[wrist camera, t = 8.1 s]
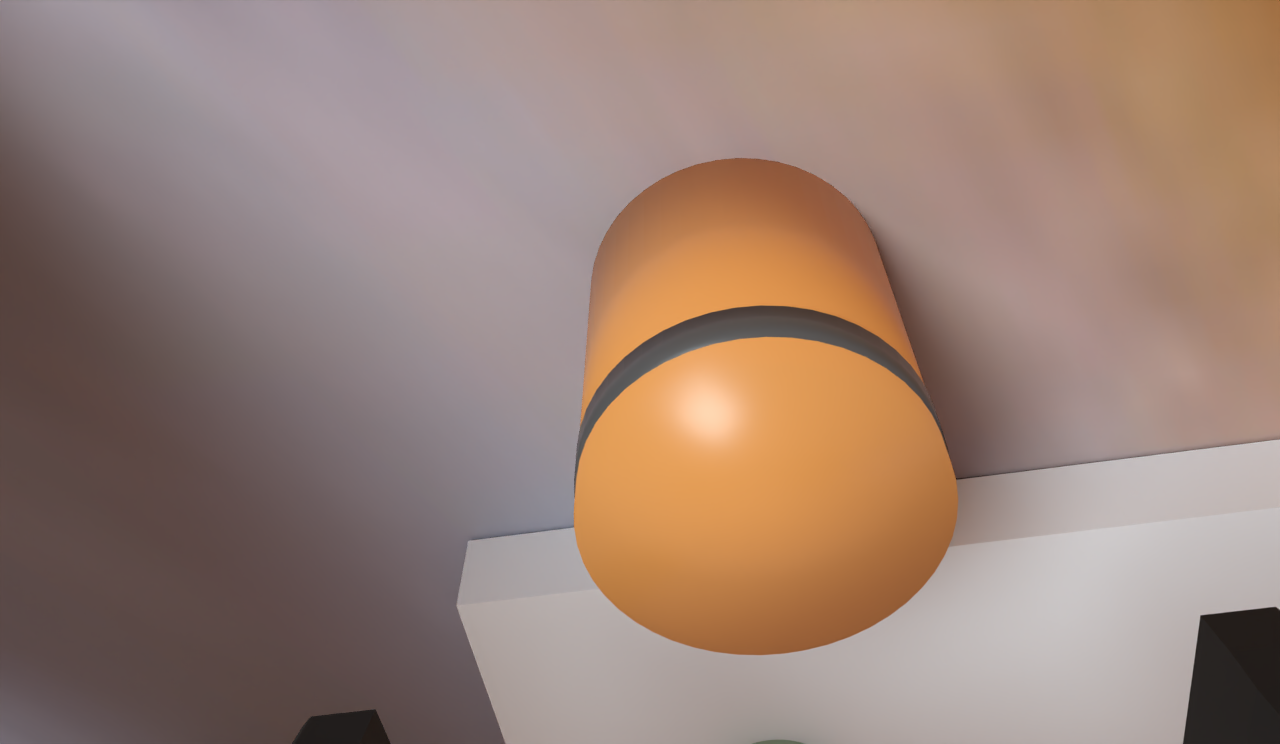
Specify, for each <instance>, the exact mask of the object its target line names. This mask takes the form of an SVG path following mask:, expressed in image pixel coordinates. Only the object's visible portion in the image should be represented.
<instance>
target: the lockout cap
mask: <svg viewBox="0 0 1280 744" xmlns="http://www.w3.org/2000/svg"><path fill="white" fill-rule="evenodd" d="M574 498H575V502H574V530H575V536H576V541H577V546H578V549H579V552H580V555H581V558H582V561H583V563H584V565H585V567H586V569H587V571H588V572H589V574H590V576H591V578H592V580H593V581H594V582H595V584H596V585H597V586H598V588H599V589H600V590H601V592H602V593H603V594H604V595H605V596H606V597H607V598H608V599H609V600H610V601H611V602H612V603H613V604H614V605H615V606H616V607H617V608H618V609H619V610H620V611H621V612H623V613H624V614H625V615H627V616H628V617H629V618H631V619H632V620H633V621H635V622H636V623H638V624H640V625H642V626H643V627H645V628H647V629H648V630H650V631H652V632H654V633H656V634H658V635H661V636H663V637H665V638H667V639H670V640H672V641H675V642H678V643H681V644H684V645H687V646H691V647H694V648H699V649H703V650H708V651H713V652H719V653H727V654H736V655H772V654H785V653H791V652H798V651H804V650H809V649H813V648H817V647H821V646H825V645H828V644H831V643H834V642H837V641H840V640H843V639H845V638H848V637H851V636H853V635H855V634H857V633H859V632H861V631H864V630H866V629H868V628H870V627H872V626H873V625H875V624H877V623H878V622H880V621H882V620H883V619H885V618H887V617H888V616H890V615H891V614H893V613H894V612H895V611H896V610H898V609H899V608H900V607H902V606H903V605H904V604H906V603H907V602H908V601H909V600H910V599H911V598H912V597H913V596H914V595H915V594H916V593H917V592H918V591H919V590H920V589H921V588H922V587H923V586H924V585H925V584H926V582H927V581H928V580H929V579H930V577H931V576H932V575H933V574H934V572H935V571H936V569H937V568H938V566H939V564H940V563H941V561H942V559H943V558H944V556H945V554H946V551H947V549H948V547H949V544H950V542H951V539H952V537H953V533H954V529H955V525H956V520H957V511H958V492H957V483H956V477H955V474H954V471H953V467H952V464H951V461H950V458H949V454H948V448H947V445H946V442H945V438H944V435H943V431H942V429H941V426H940V423H939V420H938V417H937V414H936V411H935V408H934V405H933V403H932V400H931V398H930V396H929V394H928V392H927V390H926V387H925V385H924V382H923V379H922V376H921V373H920V370H919V367H918V365H917V362H916V359H915V356H914V353H913V350H912V347H911V344H910V341H909V338H908V335H907V333H906V330H905V327H904V324H903V321H902V318H901V315H900V312H899V309H898V306H897V303H896V301H895V298H894V295H893V292H892V289H891V286H890V283H889V280H888V277H887V274H886V271H885V269H884V266H883V263H882V260H881V257H880V254H879V251H878V248H877V245H876V242H875V240H874V237H873V235H872V233H871V231H870V229H869V227H868V225H867V223H866V222H865V220H864V219H863V217H862V216H861V214H860V213H859V211H858V210H857V209H856V208H855V207H854V206H853V204H852V203H851V202H850V201H849V200H848V199H847V198H846V197H845V196H844V195H843V194H841V193H840V192H839V191H838V190H837V189H835V188H834V187H833V186H832V185H830V184H829V183H827V182H825V181H824V180H822V179H820V178H819V177H817V176H815V175H813V174H811V173H809V172H806V171H804V170H802V169H799V168H797V167H794V166H790V165H787V164H783V163H780V162H775V161H768V160H762V159H746V158H735V159H724V160H715V161H711V162H706V163H701V164H697V165H694V166H691V167H688V168H685V169H683V170H680V171H677V172H675V173H673V174H671V175H669V176H667V177H665V178H663V179H661V180H659V181H658V182H656V183H655V184H653V185H652V186H650V187H649V188H647V189H645V190H644V191H643V192H642V193H640V194H639V195H638V196H637V197H636V198H635V199H633V200H632V201H631V202H630V203H629V204H628V205H627V206H626V207H625V208H624V210H623V211H622V212H621V213H620V214H619V215H618V216H617V218H616V219H615V221H614V222H613V224H612V225H611V226H610V228H609V229H608V231H607V233H606V235H605V237H604V239H603V241H602V243H601V245H600V247H599V250H598V253H597V256H596V259H595V263H594V267H593V274H592V280H591V292H590V305H589V318H588V331H587V344H586V358H585V371H584V384H583V397H582V410H581V423H580V431H579V437H578V443H577V453H576V465H575V478H574Z"/></svg>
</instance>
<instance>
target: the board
mask: <svg viewBox="0 0 1280 744" xmlns="http://www.w3.org/2000/svg"><path fill="white" fill-rule="evenodd" d="M956 483H957V492H958V511H957V520H956V525H955V529H954V533H953V537H952V539H951V542H950V544H949V547H948V549H947V551H946V554H945V556H944V558H943V559H942V561H941V563H940V564H939V566H938V568H937V569H936V571H935V572H934V574H933V575H932V576H931V577H930V579H929V580H928V581H927V582H926V584H925V585H924V586H923V587H922V588H921V589H920V590H919V591H918V592H917V593H916V594H915V595H914V596H913V597H912V598H911V599H910V600H909V601H908V602H907V603H906V604H904V605H903V606H902V607H900V608H899V609H898V610H896V611H895V612H894V613H893V614H891V615H890V616H888V617H887V618H885V619H883V620H882V621H880V622H878V623H877V624H875V625H873V626H872V627H870V628H868V629H866V630H864V631H861V632H859V633H857V634H855V635H853V636H851V637H848V638H845V639H843V640H840V641H837V642H834V643H831V644H828V645H825V646H821V647H817V648H813V649H809V650H804V651H798V652H791V653H785V654H772V655H736V654H727V653H719V652H713V651H708V650H703V649H699V648H694V647H691V646H687V645H684V644H681V643H678V642H675V641H672V640H670V639H667V638H665V637H663V636H661V635H658V634H656V633H654V632H652V631H650V630H648V629H647V628H645V627H643V626H642V625H640V624H638V623H636V622H635V621H633V620H632V619H631V618H629V617H628V616H627V615H625V614H624V613H623V612H621V611H620V610H619V609H618V608H617V607H616V606H615V605H614V604H613V603H612V602H611V601H610V600H609V599H608V598H607V597H606V596H605V595H604V594H603V593H602V592H601V590H600V589H599V588H598V586H597V585H596V584H595V582H594V581H593V580H592V578H591V576H590V574H589V572H588V571H587V569H586V567H585V565H584V563H583V561H582V558H581V555H580V552H579V549H578V546H577V541H576V536H575V530H574V528H567V529H559V530H551V531H543V532H535V533H527V534H519V535H511V536H503V537H495V538H487V539H479V540H471V541H468V545H467V551H466V556H465V561H464V567H463V572H462V578H461V583H460V589H459V594H458V599H457V605H456V606H457V609H458V612H459V615H460V617H461V620H462V623H463V626H464V629H465V631H466V634H467V637H468V640H469V643H470V645H471V648H472V651H473V654H474V657H475V659H476V662H477V665H478V668H479V671H480V674H481V676H482V679H483V682H484V685H485V688H486V690H487V693H488V696H489V699H490V702H491V704H492V707H493V710H494V713H495V716H496V718H497V721H498V724H499V727H500V730H501V732H502V735H503V738H504V741H505V744H1183V739H1184V732H1185V725H1186V717H1187V710H1188V703H1189V696H1190V688H1191V681H1192V674H1193V666H1194V659H1195V652H1196V644H1197V637H1198V630H1199V622H1200V615H1207V614H1216V613H1225V612H1233V611H1242V610H1251V609H1260V608H1268V607H1277V608H1278V609H1279V610H1280V439H1279V440H1271V441H1263V442H1255V443H1247V444H1239V445H1231V446H1223V447H1215V448H1207V449H1199V450H1191V451H1183V452H1175V453H1167V454H1159V455H1151V456H1143V457H1135V458H1127V459H1119V460H1111V461H1103V462H1095V463H1087V464H1079V465H1071V466H1063V467H1055V468H1047V469H1039V470H1031V471H1023V472H1015V473H1007V474H999V475H991V476H983V477H975V478H967V479H959V480H956Z"/></svg>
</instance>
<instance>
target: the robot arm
mask: <svg viewBox="0 0 1280 744" xmlns="http://www.w3.org/2000/svg"><path fill="white" fill-rule="evenodd" d="M292 744H390V741H389V739H388V737H387V735H386V732H385V730H384V728H383V725H382V723H381V721H380V719H379V716H378V714H377V712H376V710H366V711H357V712H349V713H340V714H331V715H322V716H314V717H310V718H309V720H308V721H307V722H306V723H305V725H304V726H303V727H302V729H301V730H300V732H299V733H298V735H297V737H296V738H295V740H294V741H293V743H292ZM1183 744H1280V610H1279V609H1278V608H1277V607H1268V608H1260V609H1251V610H1242V611H1233V612H1225V613H1216V614H1207V615H1200V622H1199V630H1198V637H1197V644H1196V652H1195V659H1194V666H1193V674H1192V681H1191V688H1190V696H1189V703H1188V710H1187V717H1186V725H1185V732H1184V739H1183Z"/></svg>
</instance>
